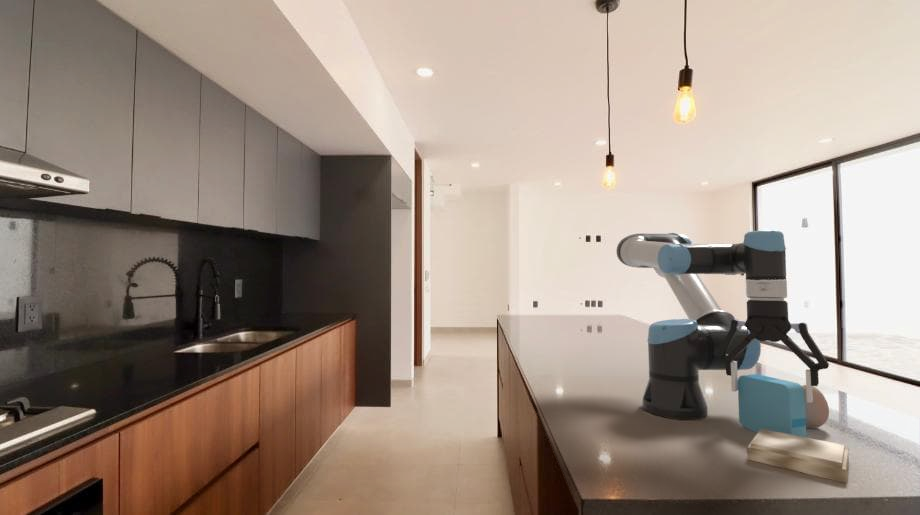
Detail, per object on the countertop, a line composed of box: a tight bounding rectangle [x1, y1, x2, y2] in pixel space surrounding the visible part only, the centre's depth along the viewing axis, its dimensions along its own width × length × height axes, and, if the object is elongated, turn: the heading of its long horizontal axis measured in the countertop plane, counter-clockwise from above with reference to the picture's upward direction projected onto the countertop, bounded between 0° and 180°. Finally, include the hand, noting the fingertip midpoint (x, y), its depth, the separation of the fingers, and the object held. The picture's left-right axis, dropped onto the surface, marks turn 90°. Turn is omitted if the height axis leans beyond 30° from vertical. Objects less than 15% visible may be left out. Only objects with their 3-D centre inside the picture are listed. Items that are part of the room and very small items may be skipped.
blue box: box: [737, 373, 807, 438], centre depth 96 cm, size 12×4×12 cm, turn 17°
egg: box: [801, 384, 830, 429], centre depth 100 cm, size 7×7×10 cm
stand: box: [746, 429, 850, 484], centre depth 82 cm, size 14×12×3 cm
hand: (770, 395), depth 96 cm, fingers open, 13 cm apart
